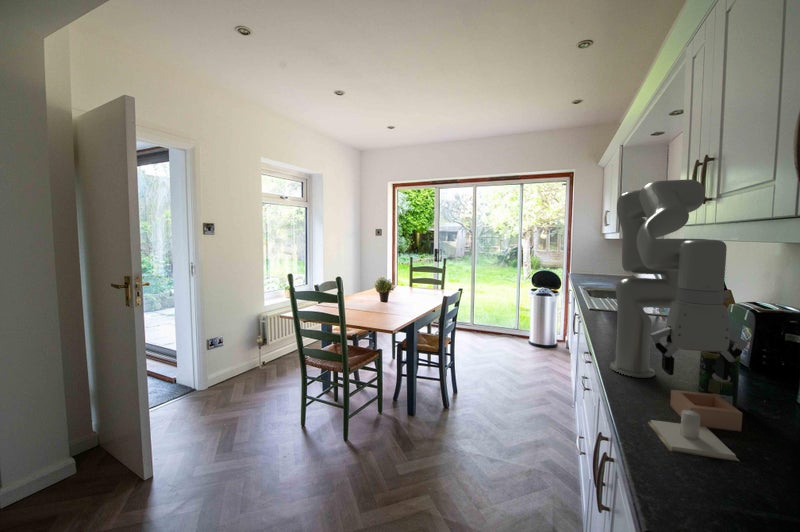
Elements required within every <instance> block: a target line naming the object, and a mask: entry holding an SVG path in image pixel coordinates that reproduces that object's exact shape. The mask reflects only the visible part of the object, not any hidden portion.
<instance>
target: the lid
mask: <svg viewBox="0 0 800 532" xmlns="http://www.w3.org/2000/svg"><path fill="white" fill-rule="evenodd" d="M700 417H701V416H700V414H698V413H696V412H694V411H690V410H682V414H681V416H680V418H681V419H680V423H679V422H669V421H664V420H663V421H662V420H654V419H650V422H651V424H652V426H653V427H654V428H655V430H656V431H657V432H658V433H659V435H660V436H661V437H662V439H663V440H664V441H665V442H666V444H667V445H668V446H669V447H670V449H671V450H676V451H683V452H690V453H697V454H704V455H711V456H718V457H725V458H731V459H735V458H737V456H736V454H735V453H734V452H733V451H732V450H731V449H729V448H728V446H726V445H725V444H724V443H723V441H721V440H720V439H719V438H718V437H717V436H716V435H715V434H714V433H713V432H712V431H711V430H710V428H707V427H703V426H700Z"/></svg>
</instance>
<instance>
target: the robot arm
mask: <svg viewBox="0 0 800 532" xmlns="http://www.w3.org/2000/svg"><path fill="white" fill-rule="evenodd" d="M705 199H706V190H705V188H704V186H703V184H702V183H701V182H700V181H698V180H696V179H673V180H671V179H670V180H656V181H653V182H649V183H646V185H644V186H643V187H642V188H641V189H640V190H632V191H627V192H624V193H622V194H620V195H619V197H618V199H617V202H616V214H617V218H618V221H619V225H620V227H621V232H622V240H621V241H622V244H621V246H622V247H621V249H622V250H621V264H622V265H621V266H622V269H623V270H624V272H626V273H629V274H639V275H660V278H648V277H628V278H627V277H626V278H622V279H620V280H619V281H618V282H617V284H616V286H615V296H616V303H617V323H616V324H617V326H616V327H617V328H616V342H615V343H616V345H615V360H614V361H612V362H610V364H609V369H611V370H612V371H613V370H614V371H613V372H615V371H616V372H615V373H617V372H619V373H618V374H620V373H621V375H623V374H624V376H626V375H627V377H631V376H632V377H633V378H638V379H639V378H640V379H647V378H653V377H654V376H655V373H656V372H655V369H653V368H652V367H650V360H651V359H650V357H651V343H652V344H653V346H654V347H655V349H657V350H658V351H659V352H660V353H661V356H662V357H661V368H662V370H663V371H664V372H665V373H666V374H667V375H669V376H673V375H674V372H675V371H674V369H675V357H674V356H673V355H674V354H675V353H676V352H677V351H679V350H683V351H694V352H695V351H696V352H701V351H707V352H717V353H718V354H719V356H720V357H717V358H716V371H715V374H716V375H717V376H718V377H720V378H722V379H723V380H728V375H730V366H731V362H733V361H734V359H735V358H736V357H738V356H739V355H742V353H743V351H744V350H745V348H747V346H748V344H749V342H748V341H747V340H746V339H744V338H741V337H739V336H737V335H735V334H733V333H731V331H730V330H731V327H730V318H729V312H728V309H727V306H726V305H725V304H724V303H725V301H727V300H731V299H732V298H731V297H732V295H731V293H729V292H726V291H725V278H726V277H725V275H726V264H727V262H726V261H727V244H726V242H724V241H723V240H719V239H708V238H707V239H706V238H660V237H664V236H667V235H669V234H671V233H672V234H673V233H674V232H677V231H679V230H680V229H682V228H683V227H685V226H686V225H687V223H688V222H689V219H690V213H693V212H694V211H696V210H698V209H699V208H701V207H702V206H703V204H704V201H705ZM645 218H646V219H645ZM644 308H656V309H669V310H668V314H667V318H666V323H665V327H664V328H662V329H659V330H657V331H654V332H652V328H653V327H652V326H653V324H652V323H653V322H652V319H651V317H650V316H649V314H647V312H645V309H644ZM661 338H664V341H665V342H666V343H665V344H664V345H663V343H662V342H661V340H660V339H661ZM730 340H732V341H734V342H735V344H734V346H733V347H732V348H730V349H729V350H728V348H729V343H730ZM632 377H631V378H632Z"/></svg>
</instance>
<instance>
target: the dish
mask: <svg viewBox="0 0 800 532" xmlns="http://www.w3.org/2000/svg"><path fill="white" fill-rule="evenodd" d="M669 405H670V407H671V409H673V410H674V411H675V412H676V413H677V414H678V415H679V417H681V414H682V410H690V411H694V412H696V413H698V414H700V416H701V417H700V426H703V427H706V428H707V429H715V430H716V429H717V430H722V431H731V432H733V431H734V432H740V433H741V432H742V426H743V425H742V424H743V412H742V411H740V410H739V409H738V408H735V407H733V406H732V405H731V404H729V403H728V402H727V401H725V400H724V399H723V398H721V397H720V396H719V395H717V394H709V393H700V392H698V391H691V390H690V391H687V390H678V389H671V390H670V404H669Z"/></svg>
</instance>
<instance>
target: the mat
mask: <svg viewBox="0 0 800 532" xmlns="http://www.w3.org/2000/svg"><path fill="white" fill-rule="evenodd" d="M647 423H648V425H649V427H651V429H652V430H653V431H654V432H655V434H656V435H657V437H658V438H659V439H660V441H661V442H662V444H663V445H664V446H665V447H666V449H667V450H668V451H669V452H673V453H678V454H679V453H681V454H687V455H693V456H701V457H707V458H708V457H709V458H715V459H721V460H728V461H736V462H740V460H739V459H738V458H737V457H736V458H735V459H731V458H725V457H718V456H711V455H704V454H697V453H690V452H683V451H676V450H671V449H670V447H669V446H668V445H667V444H666V442H665V441H664V440H663V439H662V437H661V436H660V435H659V433H658V432H657V431H656V430H655V428H654V427H653V426H652V424H651V421H647Z"/></svg>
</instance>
